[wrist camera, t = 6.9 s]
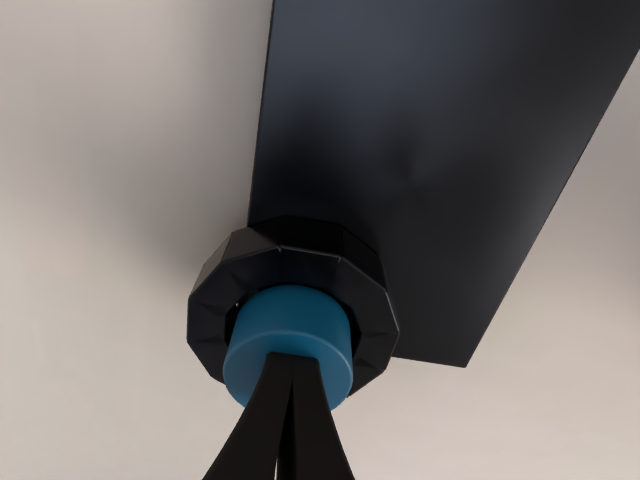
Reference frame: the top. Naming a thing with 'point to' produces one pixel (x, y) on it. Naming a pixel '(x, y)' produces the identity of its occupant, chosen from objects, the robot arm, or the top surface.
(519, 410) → the top surface
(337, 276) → the press
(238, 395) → the button
